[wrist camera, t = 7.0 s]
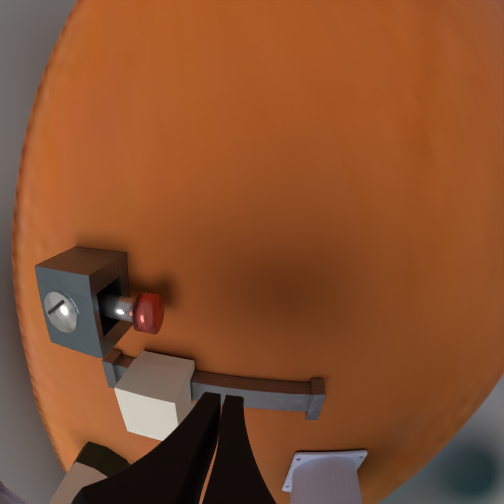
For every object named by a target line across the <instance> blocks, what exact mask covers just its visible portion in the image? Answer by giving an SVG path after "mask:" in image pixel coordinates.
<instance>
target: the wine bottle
mask: <svg viewBox="0 0 504 504" xmlns="http://www.w3.org/2000/svg"><path fill="white" fill-rule="evenodd" d="M128 466H130V465H129V463H128V462H127V460H125V459H124V458H122V457H121V456H119V455H117V454H116V453H114V452H113V451H111V450H110V449H108V448H107V447H104V446H101V445H98V444H94V443H91V442H88V443H87V444H86V445H85V446H84V447H83V448H82V450H81V451H80V453H79V455H78V456H77V458H76V459H75V461H74V463H73V464H72V466H71V468H70V469H69V471H68V472H67V474H66V476H65V477H64V479H63V481H62V482H61V484H60V486H59V488H58V489H57V491H56V492H55V494H54V496H53V497H52V499H51V501H50V503H49V504H71V503H72V501H73V499H74V497H75V496H76V495H77V493H78V492H79V491H80V489H81V488H82V487H84V486H87V485H90V484H92V483H95V482H98V481H100V480H103V479H105V478H107V477H109V476H111V475H113V474H115V473H117V472H119V471H121V470H123V469H125V468H127V467H128Z"/></svg>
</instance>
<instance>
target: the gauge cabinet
mask: <svg viewBox="0 0 504 504" xmlns="http://www.w3.org/2000/svg"><path fill="white" fill-rule="evenodd" d="M35 271H36V277H37V283H38V289H39V294H40V299H41V304H42V308H43V313H44V317H45V321H46V325H47V329H48V333H49V336H50V340H51V342H53V343H56V344H58V345H61V346H64V347H67V348H70V349H73V350H76V351H79V352H82V353H85V354H88V355H91V356H95V357H98V358H101V359H104V357H105V356H106V355H107V354H108V353H109V351H110V350H111V349H112V348H113V347H114V346H115V344H116V343H117V342H118V341H119V340H120V339H121V338H122V336H123V335H124V334H125V333H126V332H127V331H128V330H129V328H130V327H131V326H132V325H133V322H128V321H123V320H119V319H114V318H109V317H105V316H101V315H100V314H99V308H98V299H99V297H100V295H101V294H102V293H107V294H112V295H118V296H124V297H129V298H130V295H129V283H128V269H127V253H126V252H117V251H109V250H100V249H91V248H83V247H73V248H71V249H69V250H67V251H65V252H62V253H60V254H58V255H56V256H54V257H52V258H50V259H47V260H45V261H43V262H41V263H39V264H37V265H35Z"/></svg>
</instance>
